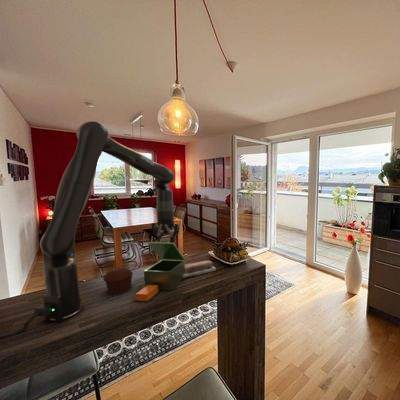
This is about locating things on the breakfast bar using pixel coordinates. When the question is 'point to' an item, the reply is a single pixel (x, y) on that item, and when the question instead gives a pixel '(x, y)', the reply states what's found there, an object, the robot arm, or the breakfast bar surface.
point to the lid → (166, 250)
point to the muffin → (118, 280)
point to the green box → (165, 274)
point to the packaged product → (198, 268)
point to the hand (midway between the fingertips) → (166, 243)
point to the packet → (147, 293)
